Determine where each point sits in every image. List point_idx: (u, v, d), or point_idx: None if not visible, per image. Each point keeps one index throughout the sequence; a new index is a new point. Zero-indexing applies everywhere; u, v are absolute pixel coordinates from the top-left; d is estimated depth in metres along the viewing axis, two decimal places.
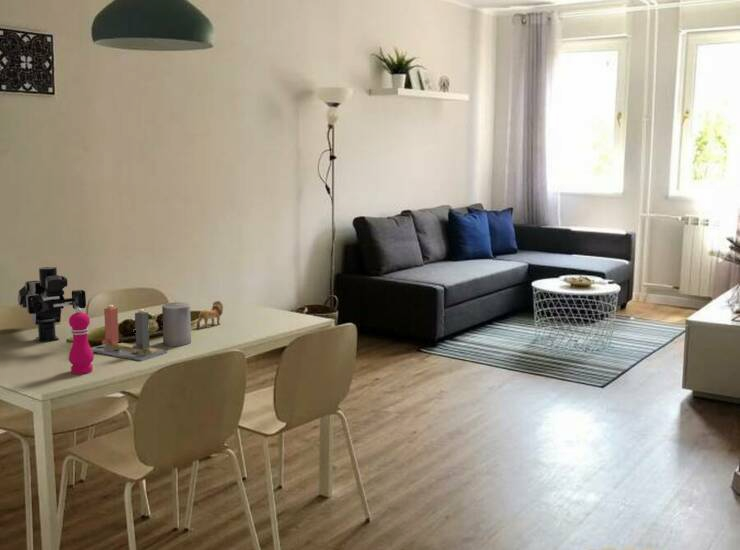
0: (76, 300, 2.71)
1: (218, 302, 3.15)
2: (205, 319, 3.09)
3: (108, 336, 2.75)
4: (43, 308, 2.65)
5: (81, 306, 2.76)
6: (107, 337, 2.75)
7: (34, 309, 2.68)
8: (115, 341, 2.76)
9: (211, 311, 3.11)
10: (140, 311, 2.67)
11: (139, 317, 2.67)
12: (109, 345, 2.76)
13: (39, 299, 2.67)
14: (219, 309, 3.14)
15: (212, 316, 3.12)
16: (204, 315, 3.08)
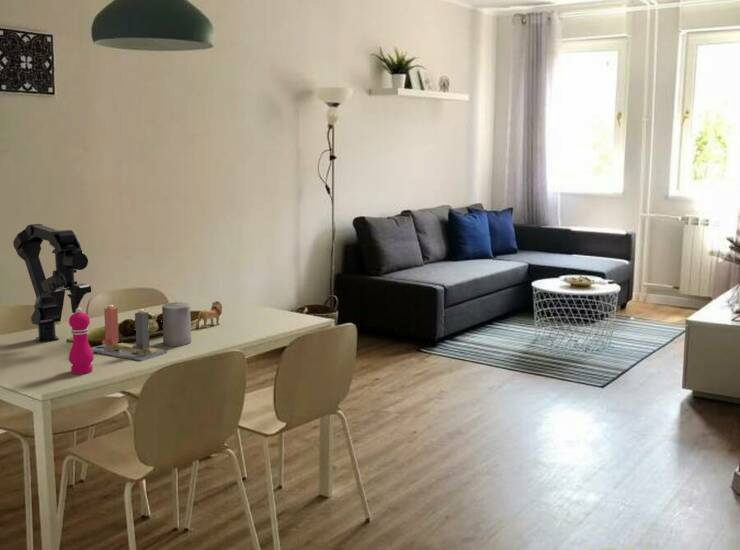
0: (72, 307, 2.76)
1: (217, 302, 3.15)
2: (204, 319, 3.08)
3: (108, 336, 2.75)
4: None
5: None
6: (107, 337, 2.75)
7: None
8: (115, 341, 2.76)
9: (210, 311, 3.11)
10: (140, 311, 2.67)
11: (139, 317, 2.67)
12: (109, 345, 2.76)
13: (52, 295, 2.78)
14: (218, 309, 3.14)
15: (211, 316, 3.11)
16: (203, 315, 3.08)
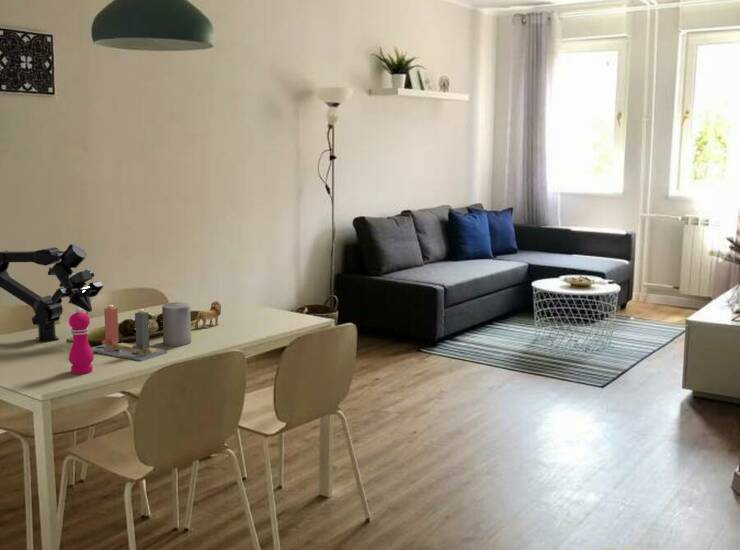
0: (89, 304, 2.80)
1: (216, 302, 3.15)
2: (203, 320, 3.08)
3: (108, 336, 2.75)
4: (83, 307, 2.80)
5: None
6: (107, 337, 2.75)
7: (71, 300, 2.79)
8: (115, 341, 2.76)
9: (209, 311, 3.10)
10: (140, 311, 2.67)
11: (139, 317, 2.67)
12: (109, 345, 2.76)
13: (80, 296, 2.79)
14: (217, 309, 3.13)
15: (210, 316, 3.11)
16: (202, 316, 3.07)
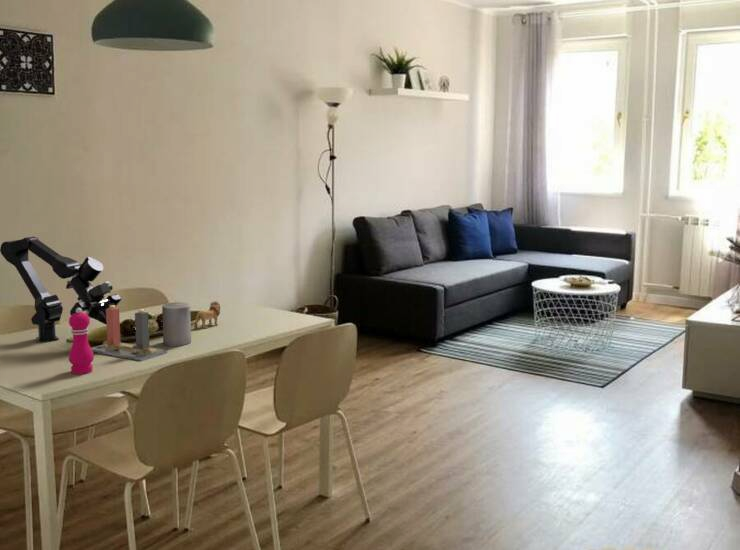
0: None
1: (215, 303, 3.14)
2: (203, 320, 3.08)
3: (110, 336, 2.75)
4: (101, 320, 2.76)
5: None
6: (109, 337, 2.75)
7: (90, 314, 2.76)
8: (117, 341, 2.76)
9: (209, 312, 3.10)
10: (140, 311, 2.67)
11: (139, 317, 2.67)
12: (109, 345, 2.76)
13: (99, 309, 2.75)
14: (217, 310, 3.13)
15: (210, 317, 3.10)
16: (202, 316, 3.07)
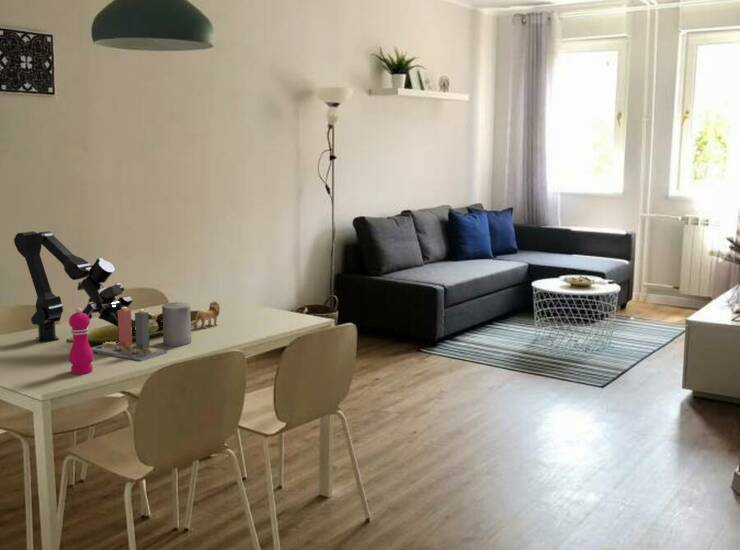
0: None
1: (215, 303, 3.14)
2: (202, 320, 3.07)
3: (121, 338, 2.72)
4: (113, 322, 2.74)
5: None
6: (121, 339, 2.72)
7: (101, 316, 2.73)
8: (129, 343, 2.73)
9: (208, 312, 3.10)
10: (140, 311, 2.67)
11: (139, 317, 2.67)
12: (109, 345, 2.76)
13: (111, 311, 2.73)
14: (216, 310, 3.12)
15: (209, 317, 3.10)
16: (201, 316, 3.07)
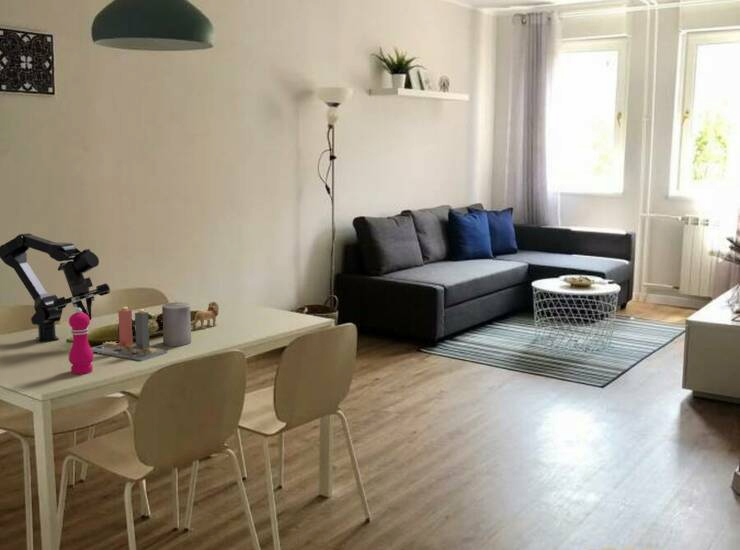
0: (89, 313, 2.78)
1: (214, 303, 3.13)
2: (201, 320, 3.07)
3: (122, 338, 2.72)
4: None
5: (93, 300, 2.82)
6: (121, 339, 2.72)
7: (75, 306, 2.79)
8: (129, 343, 2.73)
9: (207, 312, 3.09)
10: (140, 311, 2.67)
11: (139, 317, 2.67)
12: (109, 345, 2.76)
13: (80, 305, 2.77)
14: (215, 310, 3.12)
15: (208, 317, 3.09)
16: (200, 316, 3.06)
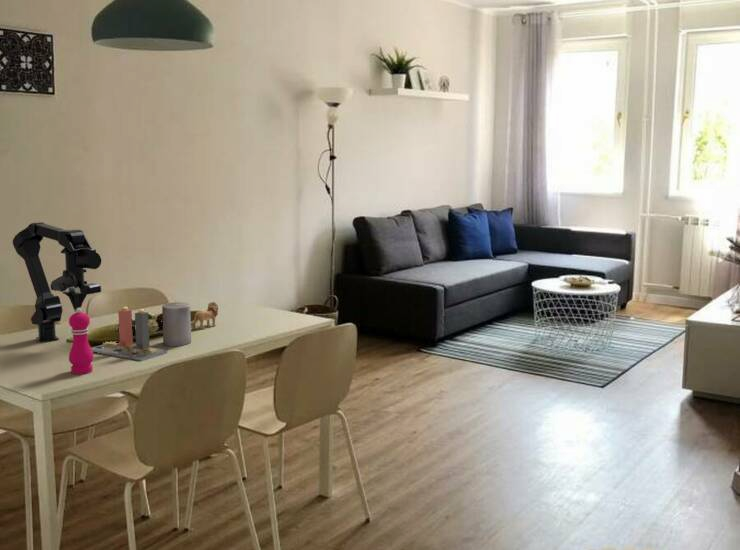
0: (75, 306, 2.78)
1: (213, 303, 3.13)
2: (200, 320, 3.06)
3: (122, 338, 2.72)
4: None
5: None
6: (121, 339, 2.72)
7: None
8: (129, 343, 2.73)
9: (206, 312, 3.09)
10: (140, 311, 2.67)
11: (139, 317, 2.67)
12: (109, 345, 2.76)
13: (68, 296, 2.78)
14: (214, 310, 3.12)
15: (207, 317, 3.09)
16: (199, 316, 3.06)
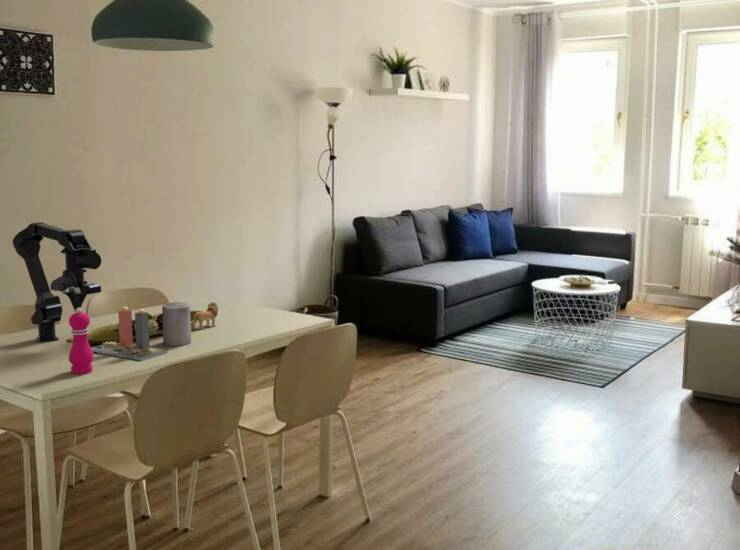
0: (75, 306, 2.78)
1: (213, 304, 3.12)
2: (200, 321, 3.06)
3: (122, 338, 2.72)
4: None
5: None
6: (121, 339, 2.72)
7: None
8: (129, 343, 2.73)
9: (206, 313, 3.08)
10: (140, 311, 2.67)
11: (139, 317, 2.67)
12: (109, 345, 2.76)
13: (68, 296, 2.78)
14: (214, 311, 3.11)
15: (207, 318, 3.09)
16: (199, 317, 3.05)
